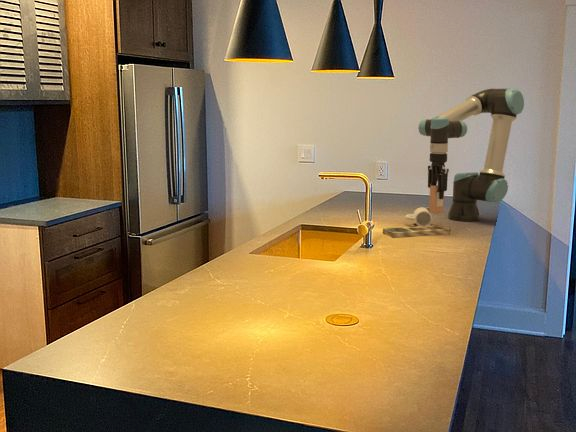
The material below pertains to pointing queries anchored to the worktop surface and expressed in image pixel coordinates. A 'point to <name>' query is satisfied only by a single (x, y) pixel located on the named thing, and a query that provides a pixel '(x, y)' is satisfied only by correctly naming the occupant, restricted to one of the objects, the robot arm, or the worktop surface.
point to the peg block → (435, 201)
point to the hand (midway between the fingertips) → (436, 205)
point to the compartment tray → (416, 231)
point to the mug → (421, 217)
